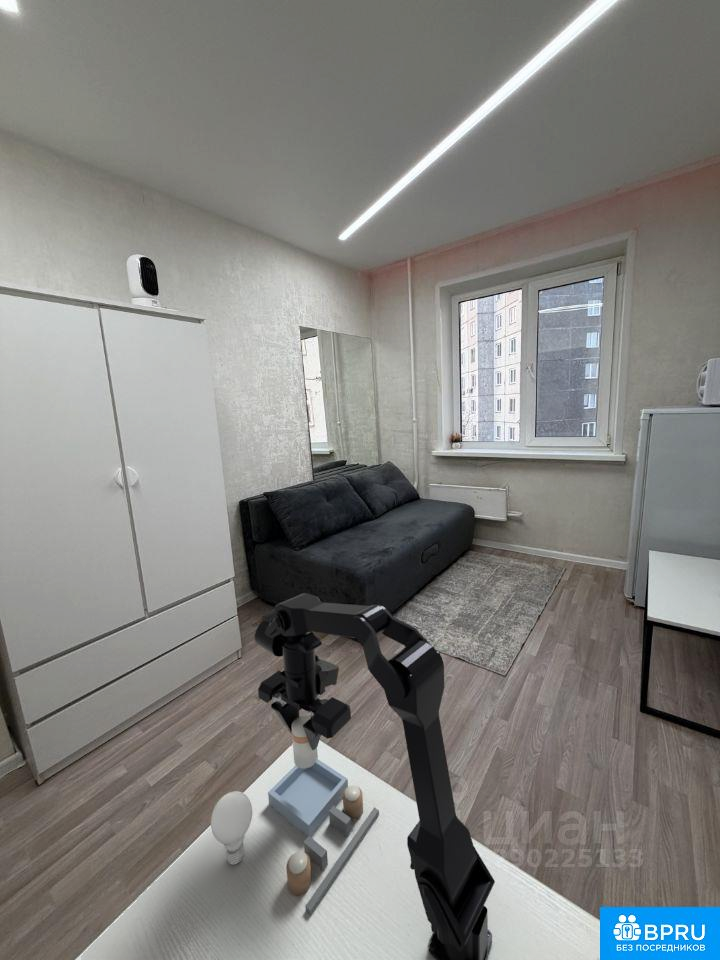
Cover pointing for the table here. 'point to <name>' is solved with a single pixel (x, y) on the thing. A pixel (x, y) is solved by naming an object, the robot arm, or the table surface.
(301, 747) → the cylinder
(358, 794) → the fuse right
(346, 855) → the grey bar and blocks
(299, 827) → the tray
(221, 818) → the lightbulb
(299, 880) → the cylinder
